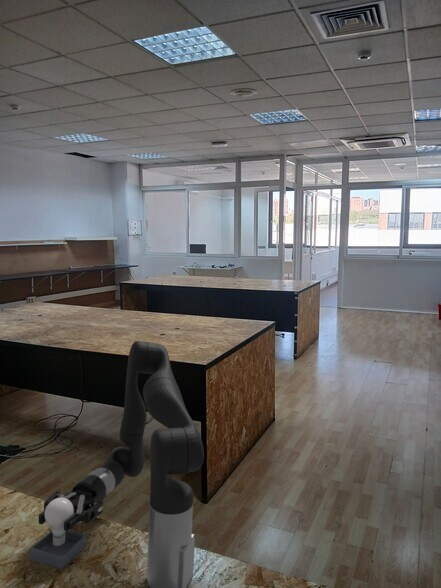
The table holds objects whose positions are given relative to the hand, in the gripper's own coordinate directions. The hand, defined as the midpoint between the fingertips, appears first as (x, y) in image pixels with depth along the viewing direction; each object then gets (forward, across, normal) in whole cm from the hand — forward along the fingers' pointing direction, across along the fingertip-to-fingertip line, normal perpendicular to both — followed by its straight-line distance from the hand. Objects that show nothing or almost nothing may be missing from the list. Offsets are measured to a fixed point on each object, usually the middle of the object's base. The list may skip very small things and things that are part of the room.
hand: (52, 523), depth 100 cm
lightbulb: (-2, 0, +7) cm, 7 cm away
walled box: (-2, 0, +8) cm, 9 cm away
